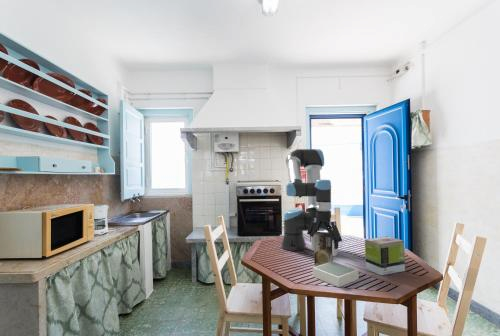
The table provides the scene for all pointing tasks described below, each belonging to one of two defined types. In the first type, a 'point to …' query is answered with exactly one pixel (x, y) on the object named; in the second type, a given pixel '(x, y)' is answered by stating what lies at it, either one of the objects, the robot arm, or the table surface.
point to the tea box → (385, 255)
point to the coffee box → (322, 248)
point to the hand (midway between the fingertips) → (323, 251)
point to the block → (335, 273)
